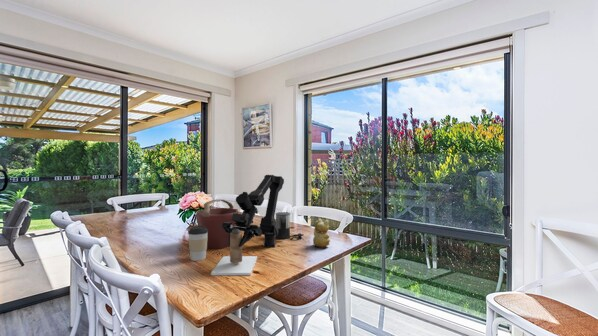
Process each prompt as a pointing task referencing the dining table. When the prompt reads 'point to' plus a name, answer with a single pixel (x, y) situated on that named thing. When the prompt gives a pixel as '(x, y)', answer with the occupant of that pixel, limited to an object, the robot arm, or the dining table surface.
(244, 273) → the ceramic tile
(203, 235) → the coffee cup
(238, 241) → the pepper mill
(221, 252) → the dining table surface
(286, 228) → the milk frother
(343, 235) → the dining table surface
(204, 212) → the bucket
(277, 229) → the robot arm
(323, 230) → the decorative figurine
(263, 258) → the dining table surface
